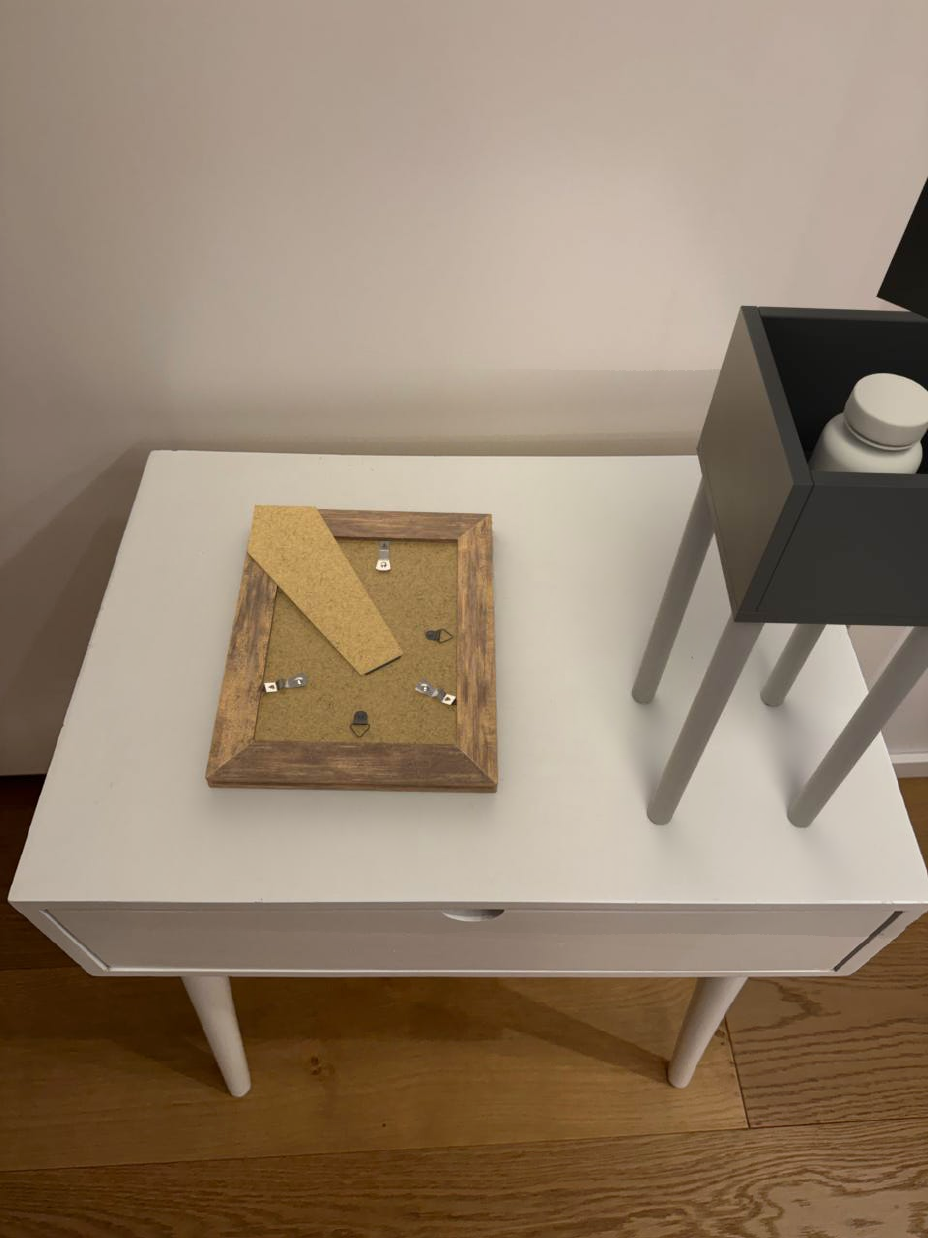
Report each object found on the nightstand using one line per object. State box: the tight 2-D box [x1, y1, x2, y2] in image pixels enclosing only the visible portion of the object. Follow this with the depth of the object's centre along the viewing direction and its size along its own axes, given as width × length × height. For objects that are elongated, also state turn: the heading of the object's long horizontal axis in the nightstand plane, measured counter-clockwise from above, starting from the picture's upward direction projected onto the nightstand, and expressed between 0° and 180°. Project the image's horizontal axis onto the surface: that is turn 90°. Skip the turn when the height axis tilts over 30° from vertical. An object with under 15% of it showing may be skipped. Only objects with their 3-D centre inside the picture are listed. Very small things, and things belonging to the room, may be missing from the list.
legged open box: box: [631, 305, 928, 829], centre depth 52 cm, size 12×12×31 cm
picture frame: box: [204, 504, 499, 794], centre depth 68 cm, size 19×2×24 cm
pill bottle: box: [807, 373, 928, 474], centre depth 43 cm, size 4×4×8 cm
